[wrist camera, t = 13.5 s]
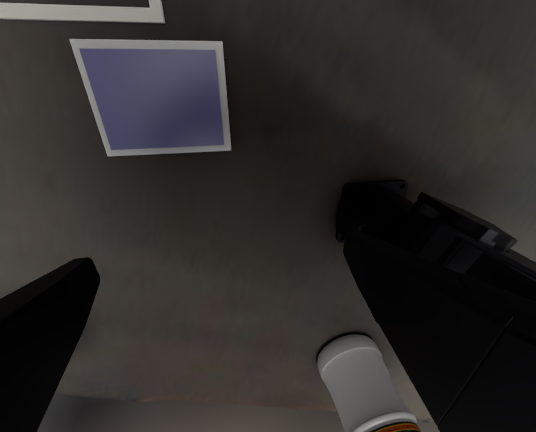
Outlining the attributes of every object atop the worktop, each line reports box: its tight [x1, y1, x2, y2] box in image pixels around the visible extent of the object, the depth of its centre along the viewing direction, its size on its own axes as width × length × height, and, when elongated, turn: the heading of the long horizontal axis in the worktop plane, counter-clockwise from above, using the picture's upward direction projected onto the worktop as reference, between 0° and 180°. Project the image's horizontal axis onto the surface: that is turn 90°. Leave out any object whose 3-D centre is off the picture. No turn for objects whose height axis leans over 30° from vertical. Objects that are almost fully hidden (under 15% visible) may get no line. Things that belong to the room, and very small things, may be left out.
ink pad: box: [69, 39, 231, 156], centre depth 17 cm, size 9×7×1 cm
